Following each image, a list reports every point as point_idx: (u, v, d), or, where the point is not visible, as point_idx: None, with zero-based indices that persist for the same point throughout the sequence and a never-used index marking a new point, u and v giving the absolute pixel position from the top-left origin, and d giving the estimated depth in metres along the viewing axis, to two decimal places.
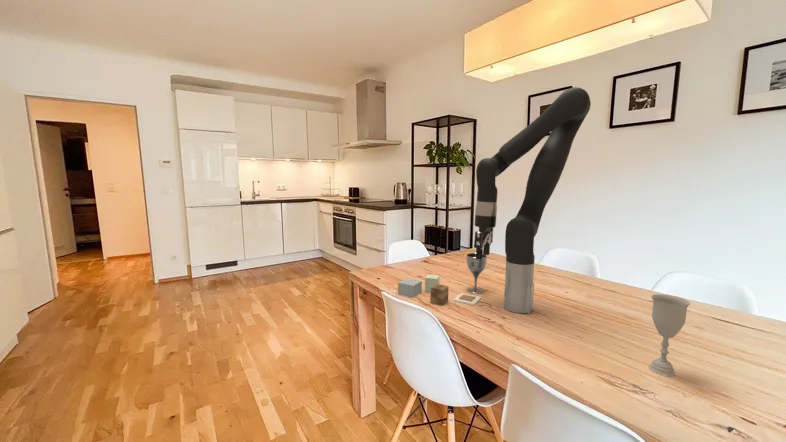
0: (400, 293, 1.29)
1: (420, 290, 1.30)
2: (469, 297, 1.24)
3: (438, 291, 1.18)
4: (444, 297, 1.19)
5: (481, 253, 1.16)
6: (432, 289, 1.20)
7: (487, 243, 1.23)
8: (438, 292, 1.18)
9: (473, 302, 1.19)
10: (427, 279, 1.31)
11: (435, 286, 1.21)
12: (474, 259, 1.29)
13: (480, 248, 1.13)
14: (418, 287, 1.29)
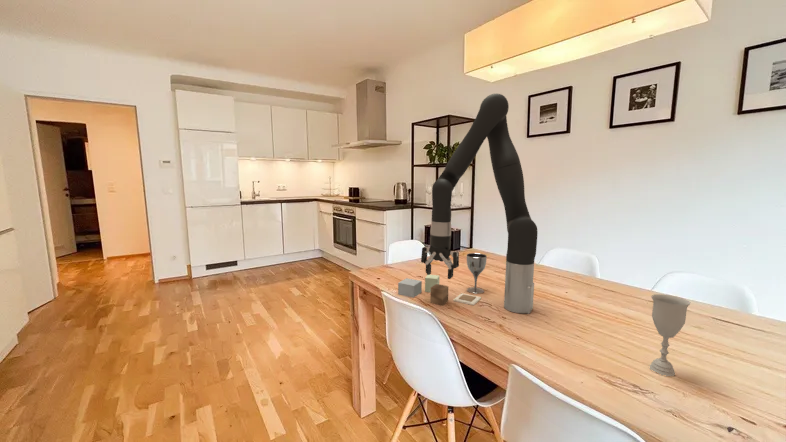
0: (400, 293, 1.29)
1: (420, 290, 1.31)
2: (469, 297, 1.24)
3: (438, 291, 1.18)
4: (444, 297, 1.19)
5: None
6: (432, 289, 1.20)
7: (429, 262, 1.22)
8: (438, 292, 1.18)
9: (473, 302, 1.19)
10: (427, 279, 1.31)
11: (435, 286, 1.21)
12: (474, 259, 1.29)
13: (458, 266, 1.17)
14: (418, 286, 1.29)
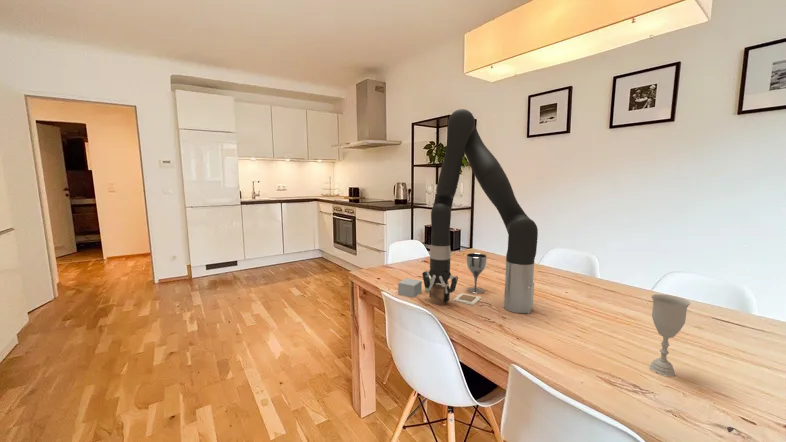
0: (400, 293, 1.29)
1: (420, 290, 1.31)
2: (469, 297, 1.24)
3: (438, 291, 1.18)
4: None
5: None
6: (432, 289, 1.19)
7: None
8: (438, 292, 1.18)
9: (473, 302, 1.19)
10: None
11: (435, 286, 1.21)
12: (474, 259, 1.29)
13: (454, 290, 1.19)
14: (418, 286, 1.29)
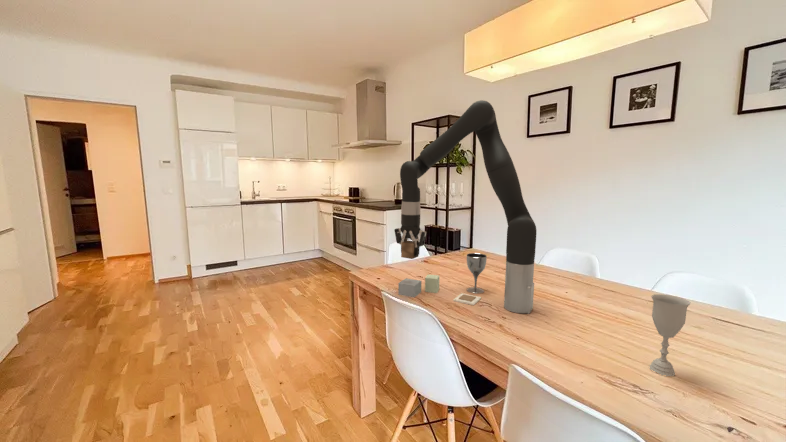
0: (400, 293, 1.29)
1: (420, 289, 1.31)
2: (469, 297, 1.24)
3: (408, 245, 1.25)
4: (413, 251, 1.26)
5: None
6: (403, 244, 1.27)
7: None
8: (408, 246, 1.25)
9: (473, 302, 1.19)
10: (427, 279, 1.31)
11: (406, 241, 1.28)
12: (474, 259, 1.29)
13: None
14: (418, 286, 1.29)
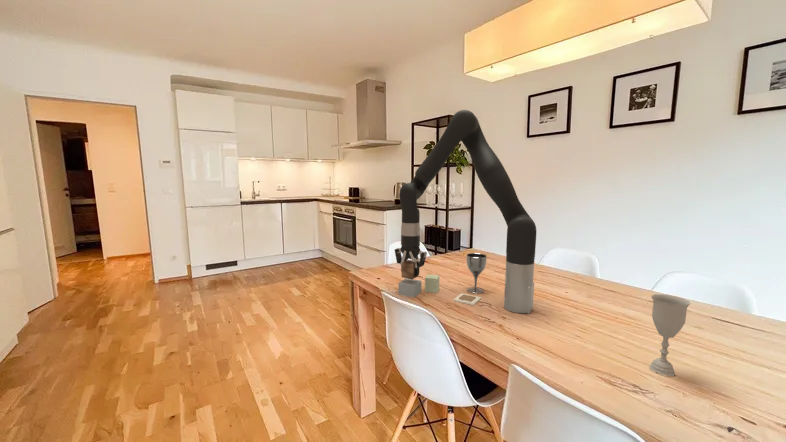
0: (401, 293, 1.29)
1: (420, 289, 1.31)
2: (469, 297, 1.24)
3: (408, 265, 1.27)
4: (413, 271, 1.27)
5: None
6: (403, 264, 1.28)
7: None
8: (408, 267, 1.27)
9: (473, 302, 1.19)
10: (427, 279, 1.31)
11: (406, 261, 1.30)
12: (474, 259, 1.29)
13: (423, 265, 1.27)
14: (418, 286, 1.29)
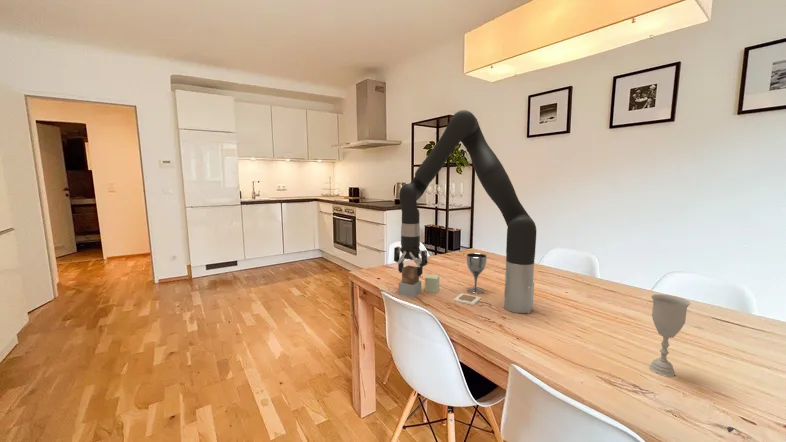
0: (401, 293, 1.29)
1: (420, 289, 1.31)
2: (469, 297, 1.24)
3: (409, 271, 1.27)
4: (414, 277, 1.27)
5: None
6: (403, 269, 1.28)
7: (401, 261, 1.31)
8: (409, 272, 1.27)
9: (473, 302, 1.19)
10: (427, 279, 1.31)
11: (406, 267, 1.30)
12: (474, 259, 1.29)
13: (426, 264, 1.26)
14: (418, 286, 1.29)
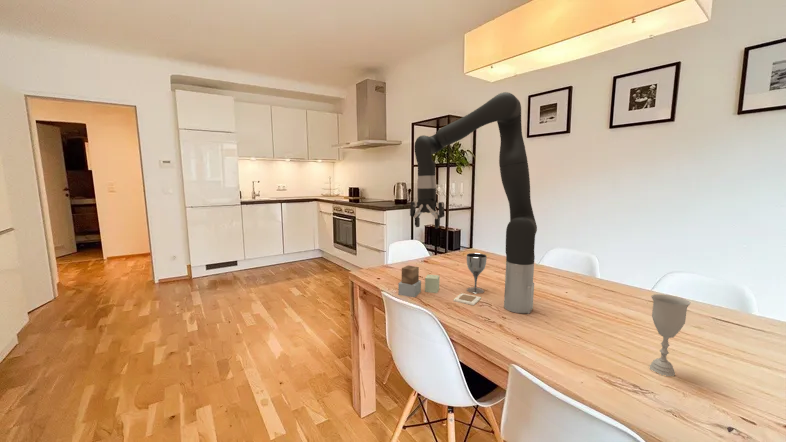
0: (401, 293, 1.29)
1: (419, 289, 1.31)
2: (469, 297, 1.24)
3: (408, 271, 1.27)
4: (413, 277, 1.27)
5: None
6: (403, 269, 1.28)
7: (418, 216, 1.32)
8: (408, 272, 1.27)
9: (473, 302, 1.19)
10: (427, 279, 1.31)
11: (406, 267, 1.30)
12: (474, 259, 1.29)
13: None
14: (418, 286, 1.29)
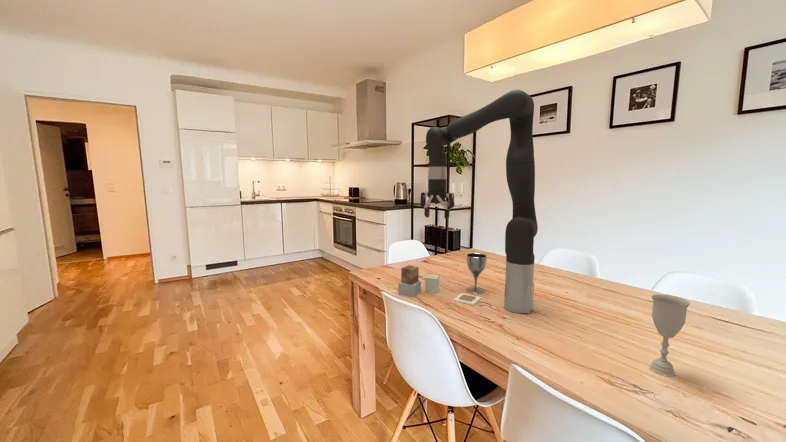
0: (401, 293, 1.29)
1: (419, 289, 1.31)
2: (469, 297, 1.24)
3: (408, 271, 1.27)
4: (413, 277, 1.27)
5: None
6: (403, 269, 1.28)
7: (428, 206, 1.34)
8: (408, 272, 1.27)
9: (473, 302, 1.19)
10: (427, 279, 1.31)
11: (406, 267, 1.30)
12: (474, 259, 1.29)
13: (453, 207, 1.29)
14: (418, 286, 1.30)
